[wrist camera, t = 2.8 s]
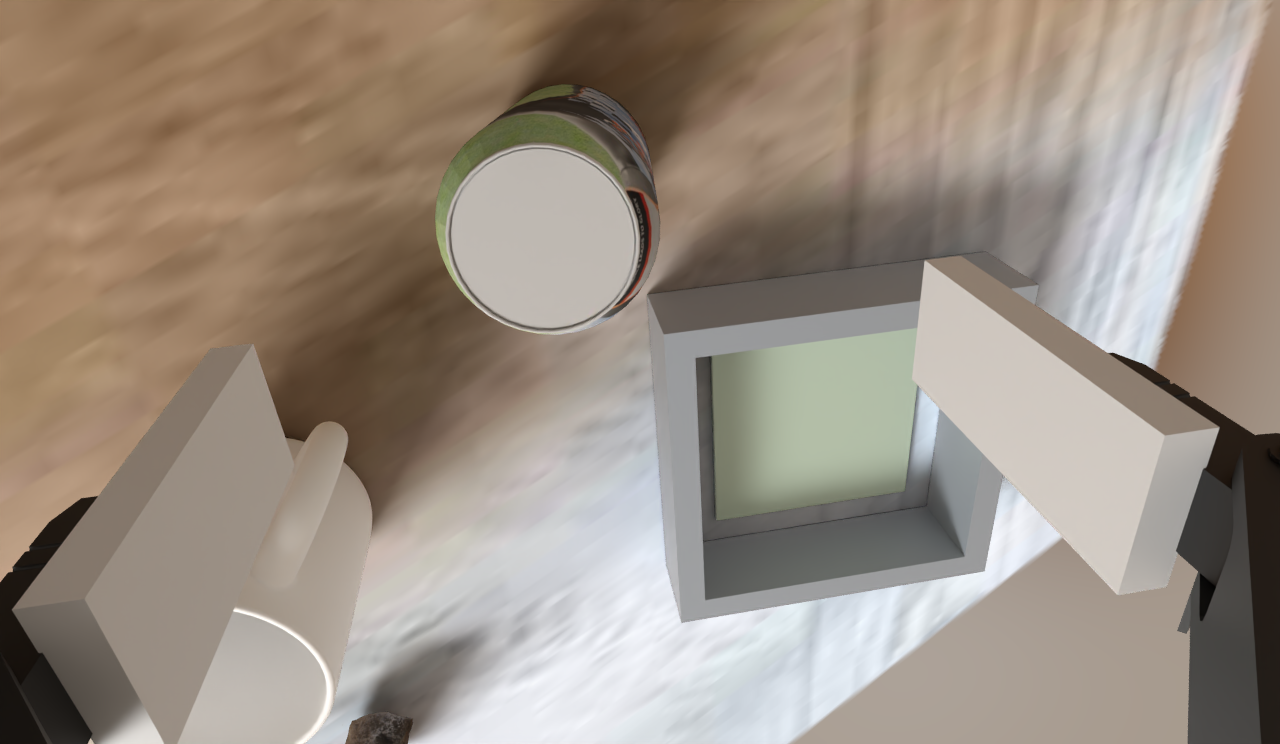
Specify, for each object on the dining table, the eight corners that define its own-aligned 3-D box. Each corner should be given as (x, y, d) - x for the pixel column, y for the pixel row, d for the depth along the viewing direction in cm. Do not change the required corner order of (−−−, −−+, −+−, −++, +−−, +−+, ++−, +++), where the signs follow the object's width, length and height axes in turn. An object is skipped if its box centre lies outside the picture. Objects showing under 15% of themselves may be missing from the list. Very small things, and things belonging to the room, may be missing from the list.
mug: (262, 329, 32) (168, 479, 23) (447, 416, 35) (428, 577, 26) (152, 536, 35) (33, 735, 27) (328, 597, 39) (275, 793, 30)
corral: (646, 294, 34) (663, 334, 30) (985, 251, 35) (1039, 284, 32) (666, 565, 41) (681, 622, 38) (945, 520, 43) (984, 571, 39)
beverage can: (618, 252, 32) (673, 396, 22) (439, 207, 30) (406, 342, 20) (666, 100, 30) (754, 182, 19) (473, 40, 28) (456, 95, 17)
